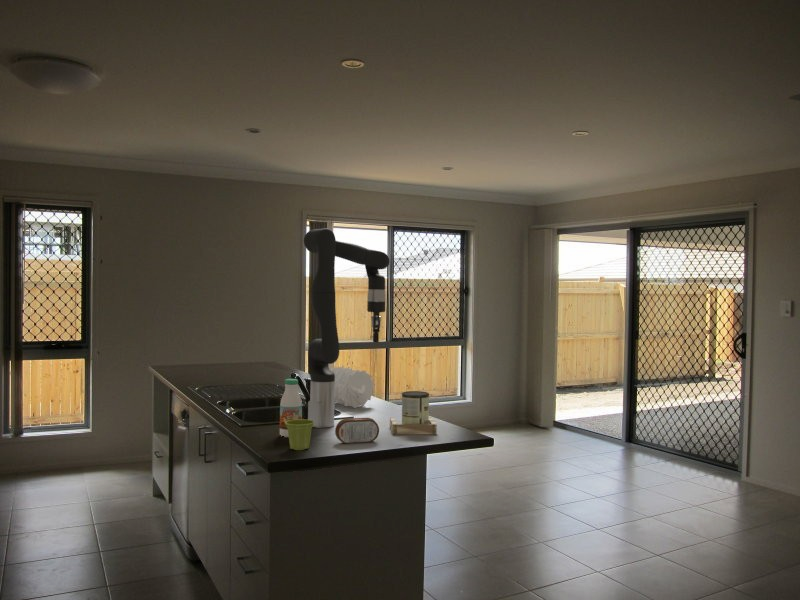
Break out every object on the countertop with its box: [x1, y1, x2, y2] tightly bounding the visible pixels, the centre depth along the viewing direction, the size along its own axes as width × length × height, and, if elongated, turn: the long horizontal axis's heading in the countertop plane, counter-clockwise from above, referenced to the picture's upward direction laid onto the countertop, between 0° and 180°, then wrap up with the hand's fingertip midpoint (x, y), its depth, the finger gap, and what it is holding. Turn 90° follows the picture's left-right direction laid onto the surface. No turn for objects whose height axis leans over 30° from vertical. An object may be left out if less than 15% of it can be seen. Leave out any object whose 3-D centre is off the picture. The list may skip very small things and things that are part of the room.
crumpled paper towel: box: [330, 365, 375, 409], centre depth 298 cm, size 18×18×25 cm
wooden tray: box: [389, 417, 437, 435], centre depth 243 cm, size 14×16×4 cm
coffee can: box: [401, 390, 430, 424], centre depth 243 cm, size 10×10×14 cm
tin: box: [334, 417, 380, 445], centre depth 221 cm, size 15×3×8 cm, turn 109°
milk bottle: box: [279, 378, 303, 438], centre depth 231 cm, size 8×8×20 cm
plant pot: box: [285, 418, 314, 451], centre depth 211 cm, size 9×9×9 cm
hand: (375, 342), depth 269 cm, fingers closed
